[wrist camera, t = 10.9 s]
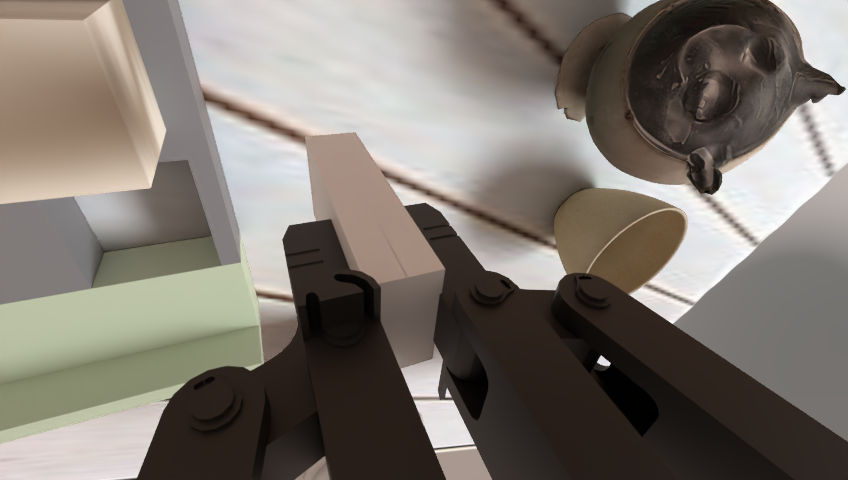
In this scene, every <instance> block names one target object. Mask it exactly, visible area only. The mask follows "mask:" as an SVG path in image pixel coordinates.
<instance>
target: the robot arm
mask: <svg viewBox="0 0 848 480" xmlns="http://www.w3.org/2000/svg"><path fill="white" fill-rule="evenodd" d="M305 140H306V148H307V157H308V166H309V174H310V183H311V191H312V200H313V209H314V215H315V218H316V221H315V222H308V223H302V224H296V225H289V227H288V229H287V231H286V233H285V235H284V238H283V245H284V251H285V256H286V262H287V267H288V272H289V278H290V283H291V289H292V294H293V299H294V304H295V309H296V314H297V319H298V328H297V331H296V334H295V336H294V338H293V339H292V341H291V343H290V344H289V345H288V346H287V347H286V348H285V349H284V350H283V351H282V352H281V353H279V354H278V355H277V356H275V357H274V358H272V359H271V360H269V361H267V362H265V363H264V364H262V365H260V366H258V367H257V368H255V369H253V370H251V371H250V370H248V369H246V368H244V367H236V366H223V367H219V368H215V369H210V370H207V371H205V372H203V373H201V374H200V375H198V376H196V377H194V378H192V379H190V380H189V381H188V382H187V383H185V384H184V385H183V386H182V387H181V388H180V389H179V390H178V391H177V392H176V393H174V395H173V396H172V398H171V399H170V401H169V403H168V404H167V406H166V408H165V409H164V411H163V413H162V416H161V418H160V421H159V424H158V426H157V429H156V431H155V434H154V436H153V439H152V441H151V444H150V447H149V449H148V452H147V454H146V457H145V459H144V462H143V465H142V467H141V470H140V472H139V475H138V477H137V480H295V479H296V478H297V477H299V476H300V475H301V474H303V473H304V472H305V471H306V470H308V469H309V468H310V467H312V466H313V465H314V464H315V463H317V462H318V461H319V460H321V459H322V458H323V457H324V456H325V460H326V464H327V469H328V474H329V479H330V480H446V478H445V476H444V473H443V471H442V468H441V466H440V464H439V461H438V459H437V456H436V454H435V451H434V449H433V447H432V444H431V442H430V439H429V437H428V434H427V432H426V430H425V427H424V425H423V422H422V420H421V417H420V415H419V413H418V410H417V408H416V405H415V403H414V401H413V398H412V396H411V393H410V391H409V388H408V386H407V384H406V381H405V379H404V376H403V374H402V371H401V369H400V368H404V367H407V366H410V365H413V364H417V363H420V362H423V361H426V360H430V359H432V357H433V350H434V344H435V345H436V347H437V348H438V350H439V352H440V354H441V356H442V358H443V364H442V369H441V375H440V381H439V387H438V393H439V397H440V400H441V399H444V398H445V394H446V389H447V388H448V390H449V392H450V394H451V396H452V398H453V400H454V402H455V404H456V406H457V408H458V411H459V413H460V415H461V417H462V419H463V421H464V423H465V425H466V427H467V429H468V431H469V433H470V435H471V437H472V439H473V441H474V443H475V445H476V447H477V449H478V451H479V453H480V455H481V457H482V459H483V461H484V463H485V466H486V468H487V470H488V472H489V474H490V476H491V478H492V480H848V442H847V441H846V440H844V439H843V438H841V437H840V436H838V435H837V434H835V433H834V432H832V431H831V430H829V429H828V428H826V427H825V426H823V425H822V424H820V423H819V422H817V421H816V420H815V419H813V418H812V417H810V416H809V415H807V414H806V413H804V412H803V411H801V410H800V409H798V408H797V407H795V406H793V405H792V404H791V403H789V402H788V401H786V400H785V399H783V398H782V397H780V396H779V395H777V394H776V393H774V392H773V391H771V390H770V389H768V388H767V387H765V386H764V385H762V384H761V383H759V382H758V381H756V380H755V379H753V378H752V377H750V376H749V375H747V374H746V373H745V372H743V371H741V370H740V369H739V368H737V367H736V366H734V365H733V364H731V363H730V362H728V361H727V360H725V359H724V358H722V357H721V356H719V355H718V354H716V353H715V352H713V351H712V350H710V349H709V348H707V347H706V346H704V345H703V344H701V343H700V342H698V341H697V340H695V339H694V338H692V337H691V336H689V335H688V334H686V333H685V332H683V331H682V330H680V329H679V328H677V327H676V326H674V325H673V324H672V323H670V322H669V321H667V320H666V319H664V318H663V317H661V316H660V315H658V314H657V313H655V312H654V311H652V310H651V309H649V308H648V307H646V306H645V305H643V304H642V303H640V302H639V301H637V300H636V299H634V298H633V297H631V296H630V295H628V294H627V293H625V292H624V291H622V290H621V289H619V288H618V287H616V286H615V285H613V284H612V283H610V282H608V281H607V280H605V279H603V278H601V277H599V276H595V275H592V274H588V273H572V274H568V275H565V276H564V277H563V278H562V279H561V280H560V281H559V284H558V287H557V289H556V290H525V289H519V287H518V286H517V285H516V284H515V283H513V282H512V281H511V280H510V279H509V278H507V277H505V276H503V275H501V274H499V273H496V272H491V271H486V270H485V269H484V268H483V267H482V265H481V264H480V263H479V261H478V260H477V259H476V258H475V256H474V255H473V254H472V252H471V251H470V250H469V248H468V247H467V246H466V245H465V243H464V242H463V241H462V239H461V238H460V237H459V236H457V233H456V232H455V230H454V229H453V228H452V226H450V225H449V223H448V221H447V220H446V219H445V217H444V216H443V215H442V214H441V212H440V211H438V210H436V209H435V208H433V207H431V206H430V205H428V204H426V203H421V204H415V205H409V206H403V204H402V203H401V201H400V199H399V198H398V196H397V195H396V193H395V192H394V190H393V189H392V187H391V186H390V184H389V183H388V181H387V180H386V178H385V177H384V175H383V174H382V172H381V171H380V169H379V168H378V166H377V165H376V163H375V162H374V160H373V159H372V157H371V156H370V154H369V152H368V151H367V149H366V148H365V146H364V145H363V143H362V142H361V140H360V139H359V137H358V136H357V134H356V133H344V134H331V135H319V136H307V137H305ZM601 355H602V356H603V357H604V358H605V359H606V360H608V361H609V362H610V363H611V364H610V366H603V365H600V364H598V363H597V361H598V359H599V358H600V356H601Z"/></svg>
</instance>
